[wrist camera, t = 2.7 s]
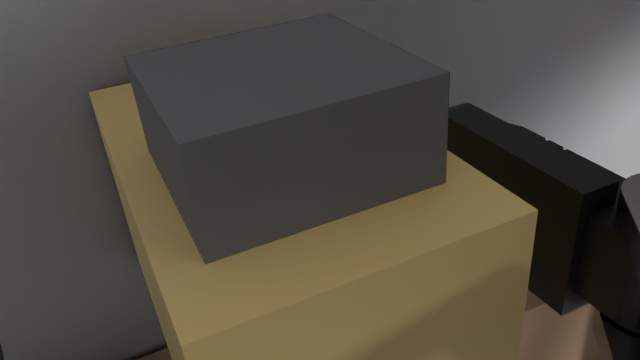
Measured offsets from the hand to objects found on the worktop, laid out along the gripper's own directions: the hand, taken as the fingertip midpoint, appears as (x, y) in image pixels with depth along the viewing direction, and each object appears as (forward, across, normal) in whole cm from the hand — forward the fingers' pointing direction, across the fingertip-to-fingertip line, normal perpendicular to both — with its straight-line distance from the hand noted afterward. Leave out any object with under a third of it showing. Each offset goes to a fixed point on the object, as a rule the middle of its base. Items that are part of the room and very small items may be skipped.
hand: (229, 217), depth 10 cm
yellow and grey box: (+3, 0, 0) cm, 3 cm away
